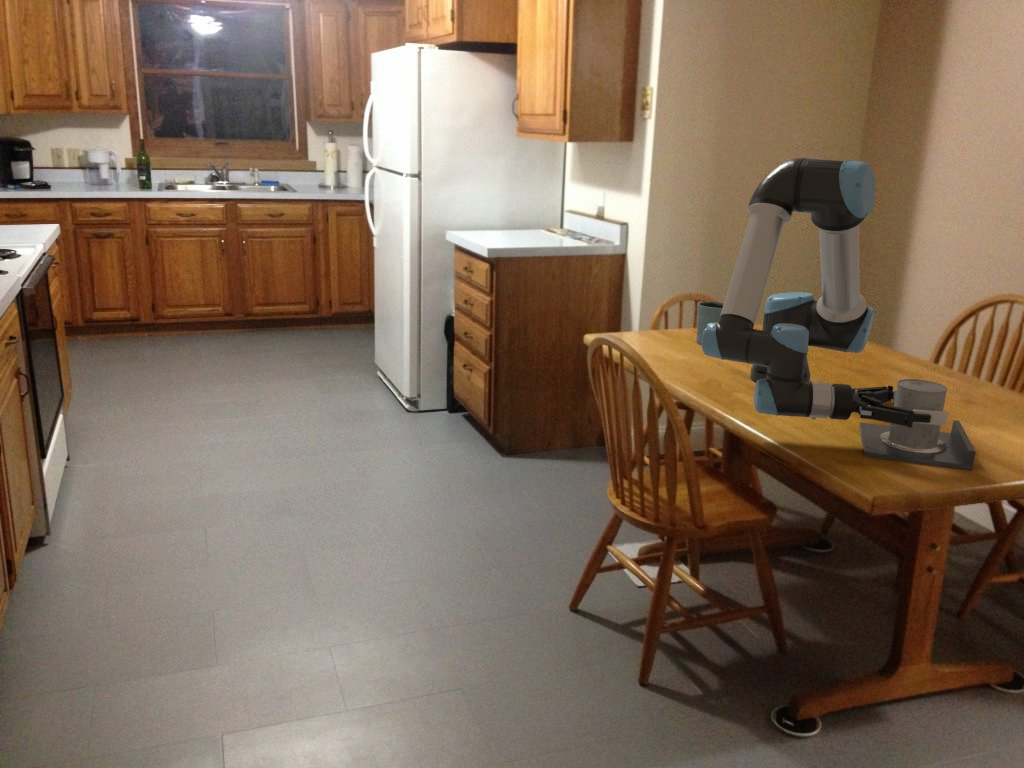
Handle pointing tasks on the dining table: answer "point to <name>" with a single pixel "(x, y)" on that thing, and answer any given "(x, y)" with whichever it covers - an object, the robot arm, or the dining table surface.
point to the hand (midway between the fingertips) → (935, 408)
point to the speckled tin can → (918, 398)
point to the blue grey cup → (707, 316)
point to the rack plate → (948, 452)
